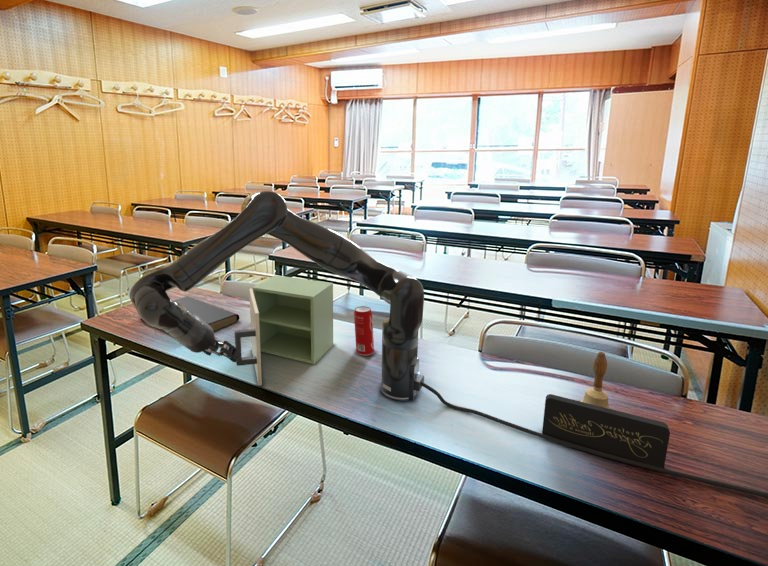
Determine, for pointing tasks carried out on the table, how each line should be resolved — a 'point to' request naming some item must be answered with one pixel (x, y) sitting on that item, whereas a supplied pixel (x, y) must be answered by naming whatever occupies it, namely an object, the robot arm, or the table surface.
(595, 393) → the hand bell
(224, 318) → the file folder
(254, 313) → the door
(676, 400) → the table surface
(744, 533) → the table surface
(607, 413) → the nameplate
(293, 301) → the cupboard
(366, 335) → the beverage can
